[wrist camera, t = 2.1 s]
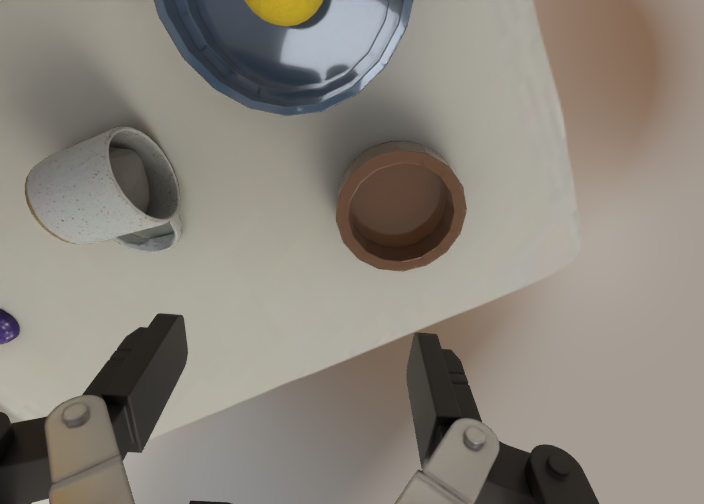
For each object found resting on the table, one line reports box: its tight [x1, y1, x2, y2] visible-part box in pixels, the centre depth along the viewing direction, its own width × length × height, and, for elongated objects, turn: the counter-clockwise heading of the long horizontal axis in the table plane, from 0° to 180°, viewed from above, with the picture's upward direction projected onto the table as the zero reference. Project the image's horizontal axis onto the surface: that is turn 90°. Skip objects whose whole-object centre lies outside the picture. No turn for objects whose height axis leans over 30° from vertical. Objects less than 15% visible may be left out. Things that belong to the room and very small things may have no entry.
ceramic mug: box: [25, 126, 182, 252], centre depth 32 cm, size 11×8×8 cm
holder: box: [336, 141, 467, 271], centre depth 34 cm, size 10×10×4 cm
